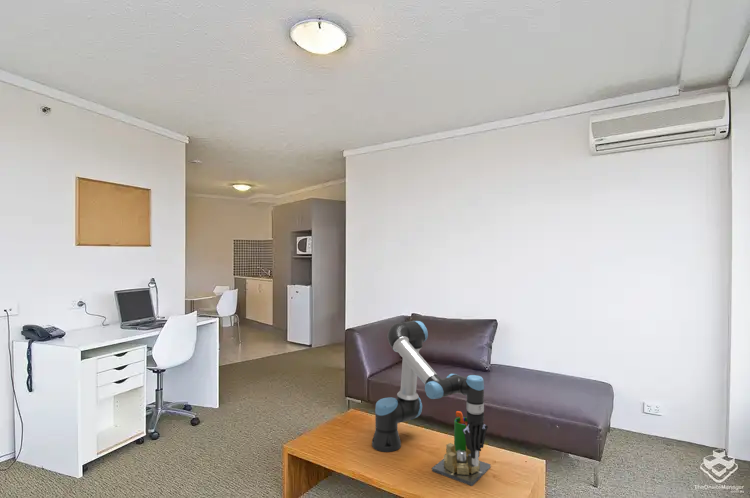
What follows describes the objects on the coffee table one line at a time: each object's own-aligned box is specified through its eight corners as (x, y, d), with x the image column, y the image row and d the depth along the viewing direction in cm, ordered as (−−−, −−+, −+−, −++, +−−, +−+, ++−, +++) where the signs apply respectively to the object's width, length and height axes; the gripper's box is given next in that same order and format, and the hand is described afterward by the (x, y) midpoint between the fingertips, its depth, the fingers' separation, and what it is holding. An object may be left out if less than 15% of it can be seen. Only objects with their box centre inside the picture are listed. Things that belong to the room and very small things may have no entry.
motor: (472, 457, 203) (472, 417, 203) (453, 456, 204) (453, 415, 205) (471, 448, 213) (471, 409, 213) (454, 446, 214) (454, 408, 215)
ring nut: (463, 478, 180) (463, 461, 180) (436, 463, 193) (436, 448, 193) (486, 466, 190) (486, 451, 190) (459, 453, 203) (459, 439, 203)
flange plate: (431, 471, 190) (431, 453, 190) (452, 454, 206) (452, 438, 206) (472, 486, 178) (472, 467, 178) (490, 467, 193) (490, 450, 193)
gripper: (469, 417, 177) (469, 472, 177) (492, 411, 183) (492, 465, 183) (458, 411, 184) (458, 464, 183) (480, 406, 190) (480, 457, 189)
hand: (475, 464), depth 183 cm, fingers closed
